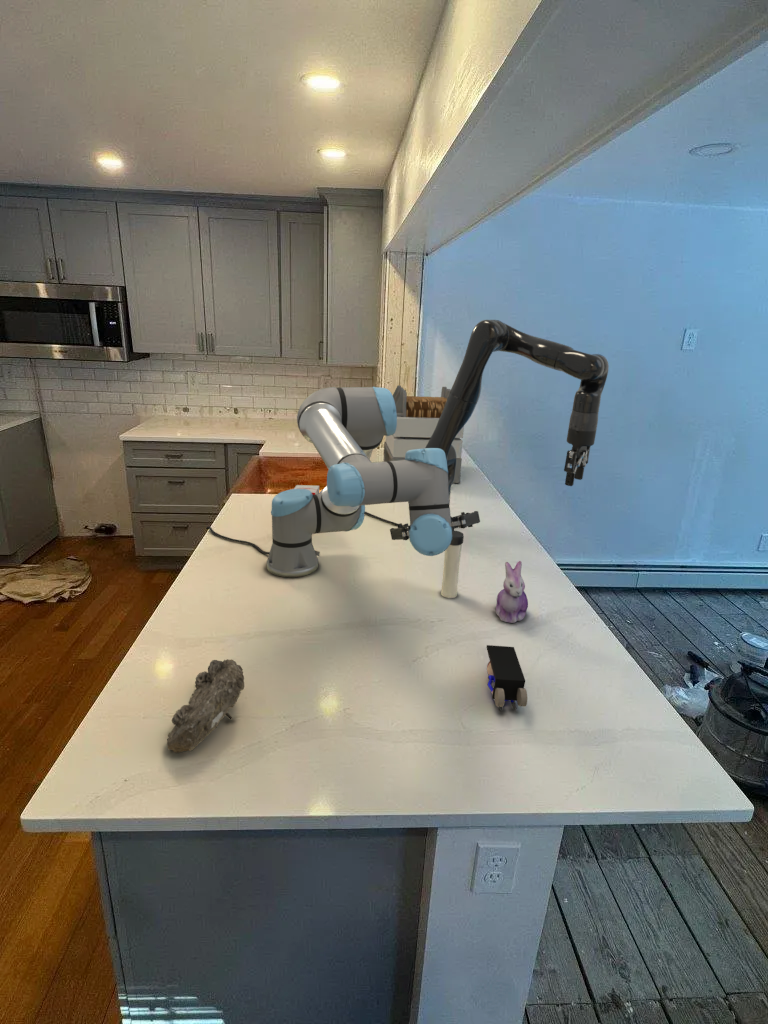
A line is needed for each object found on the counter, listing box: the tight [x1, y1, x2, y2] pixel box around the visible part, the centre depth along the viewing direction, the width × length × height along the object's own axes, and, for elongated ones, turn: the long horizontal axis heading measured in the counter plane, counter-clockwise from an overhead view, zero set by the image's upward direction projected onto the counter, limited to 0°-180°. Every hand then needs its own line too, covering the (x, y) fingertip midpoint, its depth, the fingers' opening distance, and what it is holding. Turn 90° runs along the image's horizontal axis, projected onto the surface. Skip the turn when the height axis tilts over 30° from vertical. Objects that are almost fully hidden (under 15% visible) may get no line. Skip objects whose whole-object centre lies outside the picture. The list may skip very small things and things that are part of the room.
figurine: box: [495, 560, 529, 624], centre depth 147 cm, size 9×10×15 cm
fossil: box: [166, 658, 245, 754], centre depth 106 cm, size 22×10×15 cm
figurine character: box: [485, 644, 528, 712], centre depth 117 cm, size 7×8×15 cm
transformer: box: [383, 384, 465, 484], centre depth 268 cm, size 34×33×41 cm
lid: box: [450, 530, 465, 546], centre depth 153 cm, size 5×5×2 cm
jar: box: [440, 544, 462, 599], centre depth 156 cm, size 4×4×18 cm
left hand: (435, 523), depth 135 cm, fingers open, 13 cm apart
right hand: (573, 482), depth 165 cm, fingers open, 8 cm apart
